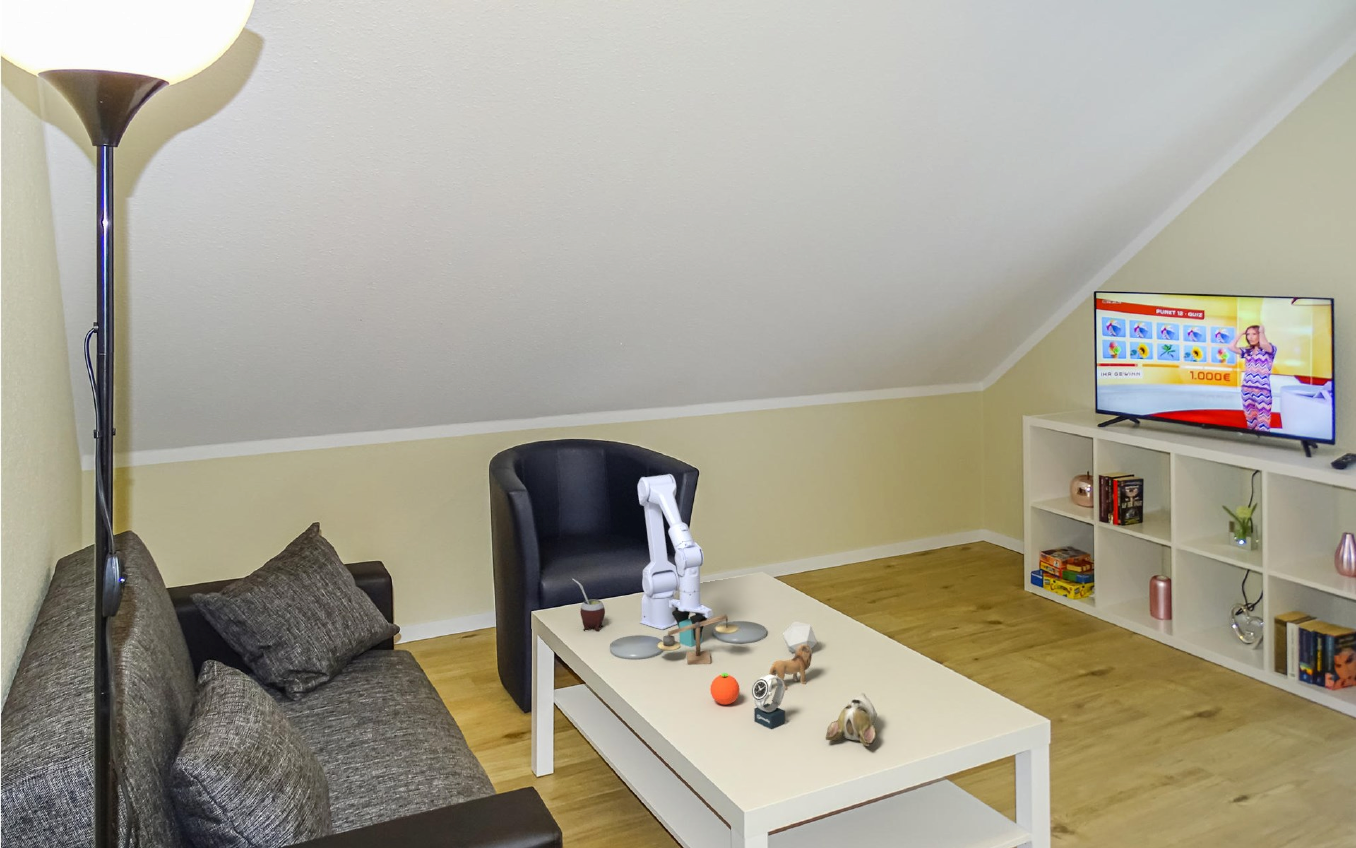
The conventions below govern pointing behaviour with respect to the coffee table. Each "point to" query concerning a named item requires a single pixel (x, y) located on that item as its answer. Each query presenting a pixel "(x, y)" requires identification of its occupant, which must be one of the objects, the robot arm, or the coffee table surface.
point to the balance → (697, 655)
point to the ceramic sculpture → (855, 722)
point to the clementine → (724, 689)
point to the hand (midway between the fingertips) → (690, 637)
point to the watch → (769, 712)
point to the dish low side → (636, 647)
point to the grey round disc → (742, 633)
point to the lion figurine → (794, 664)
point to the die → (799, 636)
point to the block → (687, 634)
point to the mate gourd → (591, 612)
